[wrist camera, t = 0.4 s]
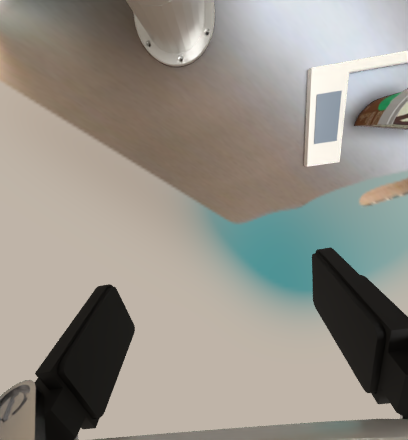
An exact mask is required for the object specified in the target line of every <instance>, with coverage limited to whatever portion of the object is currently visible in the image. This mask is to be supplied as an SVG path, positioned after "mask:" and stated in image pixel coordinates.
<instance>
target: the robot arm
mask: <svg viewBox="0 0 408 440" xmlns="http://www.w3.org/2000/svg"><path fill="white" fill-rule="evenodd" d="M126 2H127V3H128V5H129V6H130V8H131V9H132V11H133V12H134V21H135V26H136V30H137V33H138V35H139V38H140V40H141V42H142V44H143V45H144V47H145V48H146V50H147V51H148V52H149V53H150V54H151V55H152V56H153V57H154V58H155V59H156V60H158V61H159V62H161V63H163V64H165V65H168V66H174V67H180V66H185V65H188V64H191V63H192V62H194V61H195V60H197V59H198V58H199V57H200V56H201V55H202V54H203V53H204V51H205V50H206V48H207V47H208V45H209V42H210V40H211V37H212V34H213V30H214V23H215V8H214V1H213V0H126ZM206 33H209V35H208V36H206ZM149 44H151V47H149ZM180 59H183V61H182V62H180ZM312 273H313V302H314V305H315V307H316V309H317V311H318V313H319V314H320V316H321V317H322V320H323V321H324V323H325V325H326V326H327V328H328V329H329V331H330V333H331V335H332V336H333V338H334V340H335V342H336V343H337V345H338V347H339V348H340V350H341V352H342V353H343V355H344V357H345V358H346V360H347V361H348V364H349V365H350V367H351V369H352V370H353V372H354V374H355V376H356V377H357V379H358V381H359V382H360V384H361V386H362V387H363V389H364V390H365V391H366V392H367V393H372V395H373V397H374V398H375V400H376V402H377V403H378V404H385V403H391V405H392V406H393V408H394V409H395V411H396V412H397V413H399V414H400V415H401V416H400V419H371V420H370V419H369V420H351V421H331V422H313V423H300V424H286V425H273V426H258V427H244V428H232V429H218V430H205V431H192V432H180V433H167V434H155V435H142V436H130V437H119V438H107V439H95V440H408V317H407V316H406V315H405V314H404V313H403V312H402V311H401V310H400V309H399V308H398V307H397V306H396V305H395V304H394V303H392V301H390V300H389V299H388V298H387V297H386V296H385V295H384V294H383V293H382V292H381V291H380V290H379V289H378V288H377V287H376V286H375V285H374V284H373V283H372V282H370V281H369V280H368V279H367V278H366V277H365V276H362V275H359V274H358V273H357V272H356V271H355V270H354V269H353V268H352V267H351V266H350V265H349V264H348V263H347V262H346V261H345V260H344V259H343V258H342V257H341V256H340V255H339V254H338V253H337V252H336V251H335V250H334V249H332V248H325V249H319V250H317V251H316V253H315V254H313V255H312ZM134 331H135V327H134V324H133V322H132V320H131V318H130V316H129V314H128V312H127V310H126V308H125V305H124V303H123V302H122V299H121V297H120V295H119V293H118V291H117V289H116V288H115V287H113V286H112V285H103V286H98V287H97V288H96V289H95V291H94V292H93V293H92V295H91V296H90V298H89V299H88V300H87V302H86V303H85V305H84V306H83V307H82V309H81V310H80V312H79V313H78V314H77V316H76V317H75V318H74V320H73V321H72V323H71V324H70V326H69V327H68V328H67V330H66V331H65V332H64V334H63V335H62V337H61V338H60V339H59V341H58V342H57V343H56V345H55V346H54V348H53V349H52V351H51V352H50V353H49V355H48V356H47V358H46V359H45V360H44V362H43V363H42V364H41V366H40V367H39V369H38V370H37V371H36V373H35V374H36V375H37V377H38V379H37V380H36V382H33V381H32V380H25V381H23V382H20V383H18V384H16V385H14V386H12V387H11V388H10V389H8V390H7V391H6V392H4V393H3V394H2V395H1V396H0V440H78V432H79V430H80V428H82V429H90V428H96V426H97V423H98V420H99V418H100V417H101V416H102V415H103V414H104V412H105V409H106V407H107V404H108V401H109V398H110V396H111V393H112V391H113V388H114V385H115V383H116V380H117V377H118V375H119V372H120V369H121V367H122V364H123V361H124V359H125V356H126V353H127V351H128V348H129V345H130V342H131V340H132V337H133V335H134Z"/></svg>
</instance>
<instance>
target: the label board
mask: <svg viewBox="0 0 408 440" xmlns="http://www.w3.org/2000/svg"><path fill="white" fill-rule="evenodd" d="M405 63H408V51H403V52H397V53H392V54H386V55H380V56H375V57H369V58H364V59H358V60H352V61H347V62H341V63H336V64H330V65H324V66H319V67H313V68H311V69H309V70H308V80H307V104H306V128H305V152H304V166H307V167H308V166H315V165H322V164H329V163H336V162H340V153H341V143H342V134H343V125H344V115H345V106H346V97H347V87H348V78H349V73H353V72H359V71H365V70H370V69H376V68H382V67H388V66H393V65H399V64H405Z"/></svg>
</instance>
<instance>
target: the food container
mask: <svg viewBox="0 0 408 440" xmlns="http://www.w3.org/2000/svg"><path fill="white" fill-rule="evenodd" d="M354 126H364V127H378V128H392V129H408V88H407V89H406V90H404V91H403V92H400V93H397V94H393V95H390V96H386V97H383V98H380V99H377V100H375V101H373V102H372V103H370V104H369V105H368V106H367V107H365V108H364V110H363V111H362V112H361V113H360V115H359V116H358V118H357V120H356V122H355V124H354Z"/></svg>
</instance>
